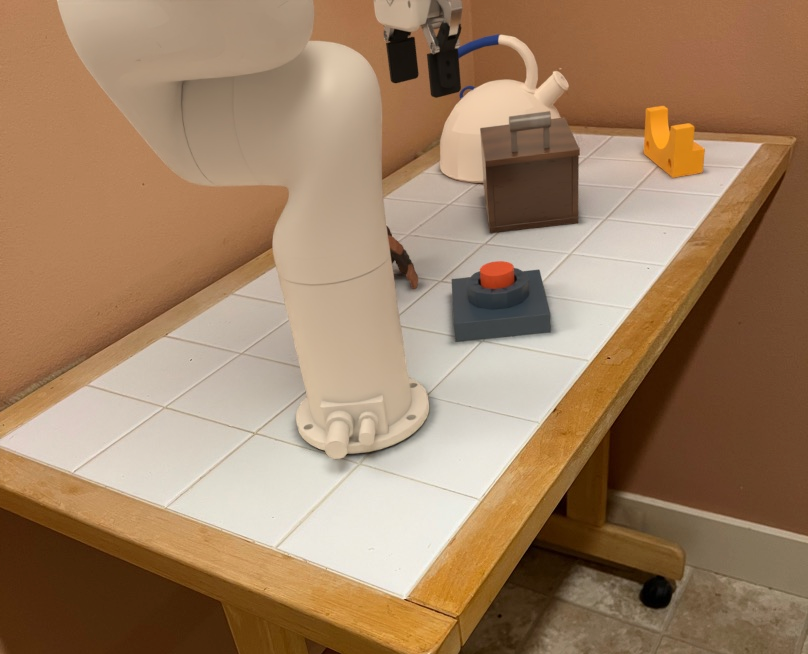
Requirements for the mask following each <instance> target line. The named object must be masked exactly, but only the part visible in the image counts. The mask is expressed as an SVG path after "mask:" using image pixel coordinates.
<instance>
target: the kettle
mask: <svg viewBox="0 0 808 654" xmlns="http://www.w3.org/2000/svg"><path fill="white" fill-rule="evenodd" d="M499 45H501V46H506V47H510V48H511V49H513V50H514V51H516V52H517V53H518V54H519V56H520V57H521V58H522V60H523V61H524V66H525V71H526V72H525V73H526V78H525V81H524V82H523V81H519V80H515V79H509V78H507V79H495V80H490V81H487V82H485V83H482V84H481V85H479V86H476V87H475V86H473V85H467V86H464V87H463V88H461V90H460V91H459V99H460V100H459V101H458V102H457V103H455V105H454V107H453V108H452V110H451V112H450V114H449V115H448V117H447V118H446V121H445V122H444V126H443V128H442V133H441V135H440V138H439V159H440V160H439V163H440V164H439V169H440V171H441V172H442V174H443V175H445V176H447V177H448V178H449V179H452V180H455V181H458V182H464V183H471V184H484V180H483V165H482V150H481V134H480V128H485V127H493V126H500V125H508V124H509V116H516V115H524V114H531V113H539V112H547V111H550V113H551V119H555V118H562V116H561V114H560V112H559V110H558V109H557V107H556V106H555V105H554V104H555V103H556V102H557V101H558V100H559V99H560V98H561V97H562V95H563V94H564V93H565V92H567V91H569V87H570V85H569V82H568V80H567V79H566V77H565V76H564V74H562V73H561V72H560V71H558V70H553V71H552V74H551V75H550V76H548V78H547V79H546V80H545V81H544V82H542V83H541V85H540V86H538V85H537V84H538V81H539V67H538V63H537V60H536V57H535V55H534V54H533V52H532V50H531V49H530V48H529V47H528V45H527V44H526V43H524V41H522V40H520V39H519V38H518V37H515V36H511V35H506V34H501V33H498V34H492V35H487V36H484V37H480V38H477V39H474V40H472V41H469V42H467V43H465V44H462V45H460V47H459V48H458V56H459V59H461V58H462V57H464V56H466V55H468V54H470V53H472V52H474V51H476V50H479V49H482V48H485V47H491V46H499ZM537 86H538V87H537ZM467 90H469V91H468V92H467V93H466V94H465V95H464V93H465V91H467Z"/></svg>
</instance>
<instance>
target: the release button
mask: <svg viewBox="0 0 808 654" xmlns="http://www.w3.org/2000/svg"><path fill="white" fill-rule="evenodd" d="M514 268H515V267H514V265H513V263H511V262H508V261H503V260H496V261H490V262H487V263H485V264H482V266H480V268H479V271H480V280H481V286H482V287H484V288H490V289H498V288H505V287H508V286H510V285H513V284H514Z"/></svg>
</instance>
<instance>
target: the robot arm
mask: <svg viewBox="0 0 808 654" xmlns="http://www.w3.org/2000/svg"><path fill="white" fill-rule="evenodd" d="M56 4H57V7H58V11H59V14H60V17H61V20H62V23H63V24H62V25H63V27H64V29H65V32H66V34H67V37H68V39H69V41H70V43H71V46H72V47H73V49H74V51H75V52H76V53H75V54H76V55H77V57H78V59H80V61H81V62H82V65H83V66H84V67H85V69H86V70H87V71H88V73H89V75H91V76H92V78H93V79H94V81H95V82H96V83H97V84H98V86H99V88H101V89H102V91H103V92H104V93H105V94H106V96H107V97H108V98H109V99H110V100H111V102H112V103H113V104H114V106H115V107H116V108H117V109H118V110H119V112H121V114H122V115H123V116H124V118H125V119H126V120H127V121H128V122H129V124H130V125H131V126H132V127H133V128H134V130H135V131H136V132H137V133H138V134H139V136H140V137H141V138H142V139H143V141H145V142H146V144H147V145H148V146H149V148H150V149H151V150H152V152H154V153H155V155H156V156H157V157H158V159H160V161H162V163H163V164H164V165H165V166H166V167H167V168H168V169H169V170H170V171H171V172H172V173H174V174H175V175H176V176H177V177H178V178H180V179H182V180H183V181H186V182H187V183H190V184H193V185H195V186H196V185H197V186H202V187H223V188H224V187H225V188H226V187H251V186H253V187H254V186H257V187H258V186H268V187H284V188H285V189H287V191H288V199H287V201H286V203H285V206H284V208H283V210H282V211H281V214H280V216H279V217H278V220H277V221H276V224H275V226H274V229H273V233H272V241H271V244H272V255H273V260H274V265H275V269H276V273H277V277H278V281H279V285H280V290H281V293H282V297H283V301H284V305H285V309H286V314H287V319H288V323H289V326H290V330H291V335H292V339H293V343H294V349H295V350H296V356H297V361H298V364H299V368H300V372H301V376H302V380H303V385H304V389H305V392H306V396H305V397H304V398H303V400H302V401H301V402H300V404H299V405H298V407H297V409H296V413H295V423H296V427H297V429H298V433H299V435H300V436H301V438H302V439H303V440H304V441H305V442H306V443H308V444H309V445H310V446H312V447H313V448H317V449H319V450H322V451H324V452H325V454H326V455H327V456H328V457H329V458H330V459H333V460H341V459H343V458H345V457H346V455H347V454H350V455H354V454H365V453H371V452H374V451H379V450H383V449H386V448H388V447H392V446H394V445H396V444H398V443H400V442H402V441H404V440H406V439H408V438H409V437H410V436H412V435H413V434H414V433H416V432H417V430H419V429H420V428H422V426H423V424H424V423H425V422H426V420H427V418H428V416H429V412H430V401H429V395H428V392H427V390H426V389H425V387H424V385H422V384H421V383H420V382H419V381H417V380H415V379H413V378H412V377H410V376H409V372H408V366H407V358H406V352H405V345H404V338H403V331H402V323H401V318H400V311H399V304H398V297H397V290H396V283H395V277H394V276H395V275H394V270H393V264H392V261H391V255H390V247H389V240H388V233H387V226H388V225H387V217H386V209H385V202H384V201H385V200H384V189H383V188H384V187H383V168H382V165H383V164H382V163H383V160H382V159H383V154H382V153H383V150H382V149H383V101H382V94H381V93H382V92H381V87H380V83H379V80H378V77H377V75H376V72H375V71H374V68H373V67H372V65H371V64H370V62H369V61H368V60H367V58H365V57H364V56H363V55H362V54H361V53H360V52H358V51H356V50H355V49H353V48H352V47H349V46H347V45H344V44H341V43H339V42H332V41H325V40H311V37H312V35H313V31H314V25H315V4H314V0H56ZM463 7H464V6H463V1H462V0H373V8H374V16H375V18H376V21H377V22H378V23H379V24H380V25H382V26H383V32H382V35H383V39H384V41H385V47H386V54H387V62H388V71H389V77H390V82H391V83H393V84H400V83H404V82H407V81H411V80H416V79H417V78H419V74H420V73H419V67H418V66H419V65H418V64H419V63H418V55H417V54H418V53H417V46H416V37H415V36H411V35H412V33H414V32H417V31H419V29H420V28H421V31H422V33H423V36H424V38H425V41H426V43H427V45H428V48H429V50H430V52H428V53H426V61H427V70H428V80H429V90H430V96H431V97H433V98H434V99H437V98H441V97H445V96H450V95H454V94H457V93H460V92H461V90H462V84H461V71H460V69H461V68H460V58H459V56H458V48H459V47H461V40H460V36H461V32H462V24H461V22H462V14H463ZM435 30H438V32H437V34H436V31H435Z"/></svg>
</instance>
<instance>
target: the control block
mask: <svg viewBox="0 0 808 654" xmlns="http://www.w3.org/2000/svg"><path fill="white" fill-rule="evenodd" d="M451 292H452V293H451V297H452V320H453V323H452V324H453V332H454V342H455V343H460V342H471V341H472V342H473V341H481V340H490V339H491V340H492V339H500V338H509V337H520V336H530V335H539V334H549V333H551V332H552V324H551V311H550V310H551V309H550V306H549V303H548V298H547V294H546V290H545V287H544V282H543V278H542V274H541V270H540V269H531V270H522V269H520V268H517V267H514V284H513V285H510V286H508V287H505V288H498V289H490V288H484V287H482V286H481V280H480V270H479V271H476V272H474V273H472V275H471V276H466V277H458V278H451Z"/></svg>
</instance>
